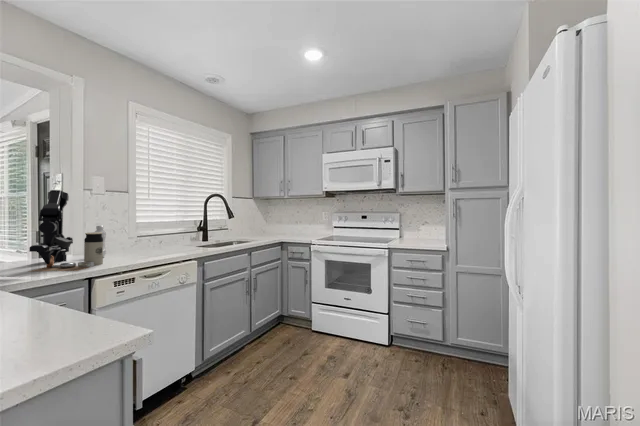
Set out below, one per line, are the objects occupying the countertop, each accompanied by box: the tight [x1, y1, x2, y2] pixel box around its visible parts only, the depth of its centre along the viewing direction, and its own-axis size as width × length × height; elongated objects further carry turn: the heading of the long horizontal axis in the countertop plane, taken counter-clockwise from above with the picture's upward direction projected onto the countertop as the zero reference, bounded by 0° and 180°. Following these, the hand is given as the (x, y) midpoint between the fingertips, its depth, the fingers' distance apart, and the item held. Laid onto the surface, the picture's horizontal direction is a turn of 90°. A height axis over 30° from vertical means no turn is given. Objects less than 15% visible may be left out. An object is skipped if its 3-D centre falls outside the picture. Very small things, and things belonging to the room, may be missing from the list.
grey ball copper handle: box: [45, 256, 77, 268], centre depth 151 cm, size 12×6×6 cm, turn 99°
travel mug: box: [83, 231, 104, 266], centre depth 161 cm, size 8×8×18 cm
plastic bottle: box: [94, 225, 107, 258], centre depth 193 cm, size 6×7×20 cm
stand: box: [27, 261, 95, 273], centre depth 148 cm, size 21×14×3 cm, turn 99°
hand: (50, 263), depth 150 cm, fingers closed on grey ball copper handle, 3 cm apart
